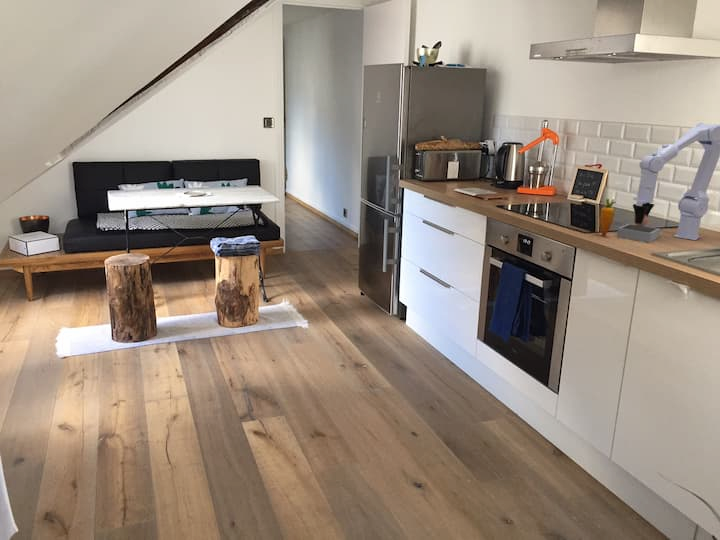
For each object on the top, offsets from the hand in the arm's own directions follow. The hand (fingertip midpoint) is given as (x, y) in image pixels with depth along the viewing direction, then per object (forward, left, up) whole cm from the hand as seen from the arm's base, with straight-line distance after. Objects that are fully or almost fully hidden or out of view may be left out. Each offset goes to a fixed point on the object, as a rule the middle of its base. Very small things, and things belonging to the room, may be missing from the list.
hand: (640, 222), depth 233 cm
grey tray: (0, 0, -6) cm, 6 cm away
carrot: (+10, -10, -6) cm, 15 cm away
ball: (0, 0, +1) cm, 1 cm away
